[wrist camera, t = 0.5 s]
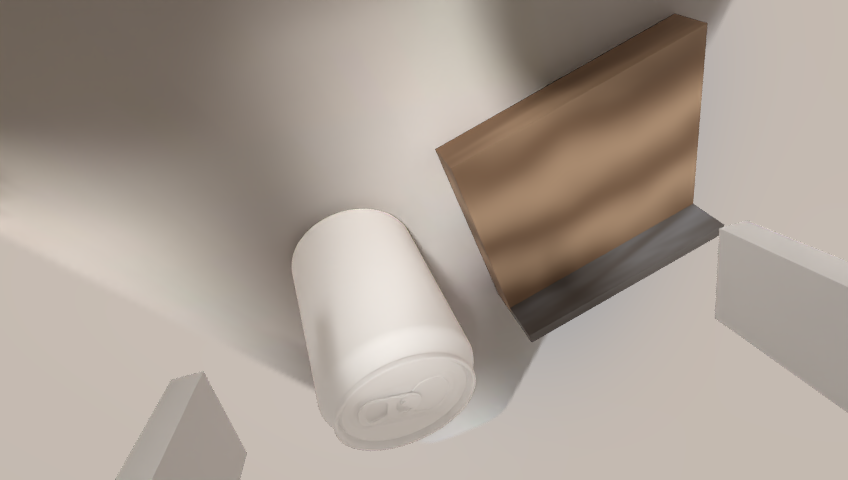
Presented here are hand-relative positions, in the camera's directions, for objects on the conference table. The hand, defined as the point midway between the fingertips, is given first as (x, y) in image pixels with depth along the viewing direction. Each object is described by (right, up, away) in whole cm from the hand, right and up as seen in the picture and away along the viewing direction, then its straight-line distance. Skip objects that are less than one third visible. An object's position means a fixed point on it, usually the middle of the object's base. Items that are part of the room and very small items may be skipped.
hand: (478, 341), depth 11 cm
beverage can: (-6, +2, +19) cm, 20 cm away
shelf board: (+10, +7, +22) cm, 25 cm away
